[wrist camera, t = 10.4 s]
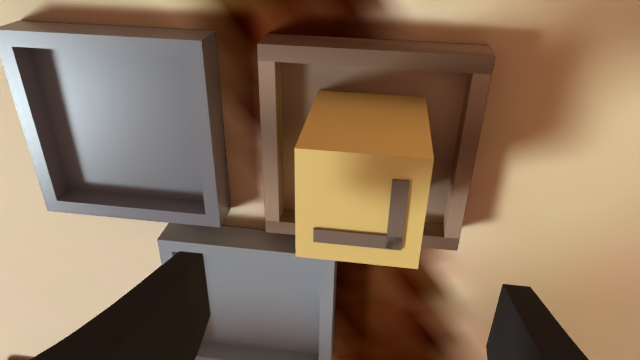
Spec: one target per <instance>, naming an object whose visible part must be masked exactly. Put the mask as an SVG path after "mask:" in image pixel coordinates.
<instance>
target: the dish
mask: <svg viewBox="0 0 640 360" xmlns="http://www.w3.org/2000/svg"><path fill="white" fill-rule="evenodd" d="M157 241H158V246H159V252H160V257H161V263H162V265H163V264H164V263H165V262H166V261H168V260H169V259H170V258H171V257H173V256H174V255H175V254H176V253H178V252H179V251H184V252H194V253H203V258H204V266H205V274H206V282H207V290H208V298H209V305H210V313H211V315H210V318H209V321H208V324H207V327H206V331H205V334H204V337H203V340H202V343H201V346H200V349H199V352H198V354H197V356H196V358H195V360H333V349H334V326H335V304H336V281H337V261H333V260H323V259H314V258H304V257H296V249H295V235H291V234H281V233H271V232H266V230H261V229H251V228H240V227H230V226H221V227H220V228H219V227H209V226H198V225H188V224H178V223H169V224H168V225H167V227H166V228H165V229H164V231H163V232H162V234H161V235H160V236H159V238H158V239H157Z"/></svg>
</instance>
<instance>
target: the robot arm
mask: <svg viewBox="0 0 640 360" xmlns="http://www.w3.org/2000/svg"><path fill="white" fill-rule="evenodd" d="M210 315H211V313H210V305H209V298H208V290H207V282H206V274H205V266H204V258H203V253H194V252H184V251H179V252H178V253H176V254H175V255H174V256H173V257H171V258H170V259H169V260H168V261H166V262H165V263H164V264H163V265H161V266H160V267H159V268H158V269H156V270H155V271H154V272H153V273H152V274H150V275H149V276H148V277H147V278H145V279H144V280H143V281H142V282H141V283H139V284H138V285H137V286H136V287H134V288H133V289H132V290H130V291H129V292H128V293H127V294H125V295H124V296H123V297H122V298H120V299H119V300H118V301H116V302H115V303H114V304H113V305H111V306H110V307H109V308H107V309H106V310H104V311H103V312H102V313H100V314H99V315H97V316H96V317H95V318H93V319H92V320H91V321H89V322H88V323H86V324H85V325H84V326H82V327H81V328H79V329H78V330H77V331H75V332H74V333H72V334H71V335H69V336H68V337H66V338H65V339H63V340H61V341H60V342H58V343H57V344H55V345H54V346H52V347H50V348H49V349H47V350H45V351H44V352H42V353H40V354H39V355H37V356H36V357H34V358H32V359H30V360H195V358H196V356H197V354H198V352H199V349H200V346H201V343H202V340H203V337H204V334H205V331H206V327H207V324H208V321H209V318H210ZM486 348H487V358H488V360H588V358H587V357H586V356H585V355H584V354H583V352H582V351H581V350H580V349H579V348H578V347H577V345H576V344H575V343H574V342H573V340H572V339H571V338H570V337H569V336H568V334H567V333H566V332H565V331H564V329H563V328H562V327H561V325H560V324H559V323H558V322H557V320H556V319H555V318H554V317H553V315H552V314H551V313H550V311H549V310H548V309H547V308H546V306H545V305H544V304H543V302H542V301H541V300H540V299H539V297H538V296H537V295H536V294H535V292H534V291H533V290H532V289H531V287H526V286H516V285H507V284H503V285H502V289H501V293H500V296H499V300H498V304H497V308H496V312H495V315H494V319H493V323H492V327H491V331H490V334H489V338H488V342H487V346H486Z"/></svg>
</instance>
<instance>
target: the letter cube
mask: <svg viewBox="0 0 640 360" xmlns="http://www.w3.org/2000/svg"><path fill="white" fill-rule="evenodd" d="M294 151H295V249H296V257H304V258H314V259H323V260H333V261H343V262H353V263H363V264H373V265H383V266H393V267H403V268H412V269H418V264H419V257H420V250H421V243H422V237H423V230H424V223H425V216H426V210H427V203H428V196H429V189H430V183H431V176H432V169H433V162H434V155H433V148H432V140H431V133H430V125H429V118H428V110H427V103H426V97H414V96H398V95H383V94H367V93H351V92H335V91H319V90H318V93H317V95H316V98H315V100H314V102H313V105H312V107H311V110H310V112H309V114H308V117H307V119H306V122H305V124H304V126H303V129H302V131H301V134H300V136H299V139H298V141H297V143H296V146H295V148H294Z"/></svg>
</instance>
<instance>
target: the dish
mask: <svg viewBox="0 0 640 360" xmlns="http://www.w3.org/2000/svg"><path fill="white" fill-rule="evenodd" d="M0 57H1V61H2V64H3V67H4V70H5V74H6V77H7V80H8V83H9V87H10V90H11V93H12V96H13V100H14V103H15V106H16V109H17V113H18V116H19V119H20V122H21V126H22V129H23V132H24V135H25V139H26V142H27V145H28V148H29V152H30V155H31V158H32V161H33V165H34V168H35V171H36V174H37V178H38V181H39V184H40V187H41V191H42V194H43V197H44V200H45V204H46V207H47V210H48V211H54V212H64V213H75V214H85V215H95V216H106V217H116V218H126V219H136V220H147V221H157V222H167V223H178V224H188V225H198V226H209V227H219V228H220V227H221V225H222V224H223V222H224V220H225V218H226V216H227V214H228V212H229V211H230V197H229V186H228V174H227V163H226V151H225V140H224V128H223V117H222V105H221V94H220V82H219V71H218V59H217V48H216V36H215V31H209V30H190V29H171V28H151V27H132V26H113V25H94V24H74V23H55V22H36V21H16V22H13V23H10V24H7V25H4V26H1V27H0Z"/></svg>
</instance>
